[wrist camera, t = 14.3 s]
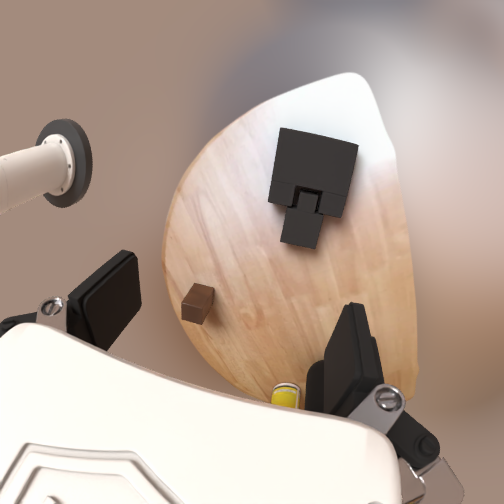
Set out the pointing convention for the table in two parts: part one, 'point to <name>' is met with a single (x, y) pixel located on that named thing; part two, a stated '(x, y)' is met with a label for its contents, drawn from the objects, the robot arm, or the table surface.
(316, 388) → the decorative object
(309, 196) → the small pad
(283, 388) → the pill bottle
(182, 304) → the stand
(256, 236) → the table surface
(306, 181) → the base pad
